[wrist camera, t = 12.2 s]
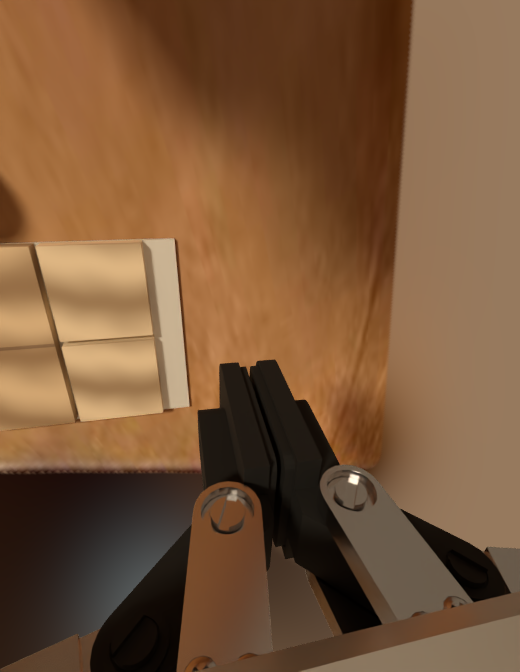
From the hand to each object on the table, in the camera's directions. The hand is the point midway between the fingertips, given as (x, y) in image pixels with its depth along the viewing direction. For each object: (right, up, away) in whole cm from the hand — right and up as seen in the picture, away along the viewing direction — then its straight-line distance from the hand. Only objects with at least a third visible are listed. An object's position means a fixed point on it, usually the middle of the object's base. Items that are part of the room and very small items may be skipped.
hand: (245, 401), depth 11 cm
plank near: (-14, +6, +22) cm, 26 cm away
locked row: (-22, +1, +22) cm, 31 cm away
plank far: (-14, -2, +26) cm, 29 cm away
